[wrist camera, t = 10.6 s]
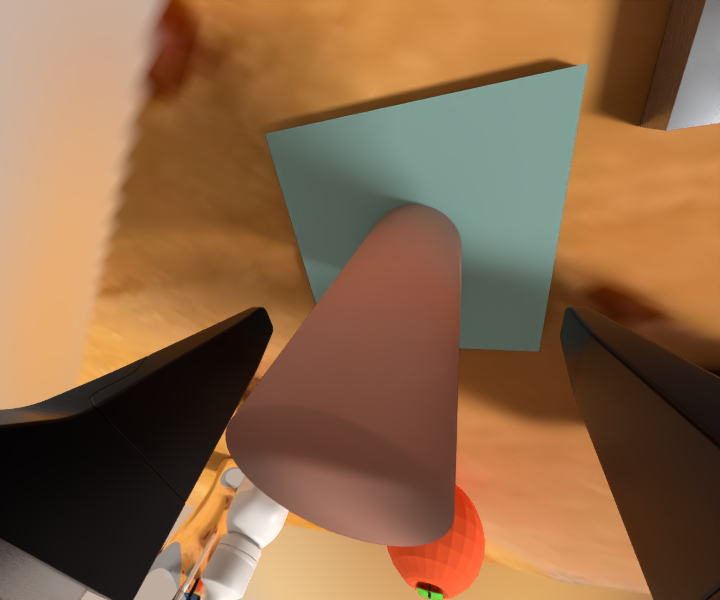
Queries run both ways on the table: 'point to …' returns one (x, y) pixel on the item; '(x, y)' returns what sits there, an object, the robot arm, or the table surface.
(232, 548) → the eye dropper bottle
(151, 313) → the table surface
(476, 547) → the clementine
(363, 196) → the rubber mat
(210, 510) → the beer glass
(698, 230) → the table surface
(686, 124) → the grey square hole plate
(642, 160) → the table surface
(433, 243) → the pink rounded cylinder
